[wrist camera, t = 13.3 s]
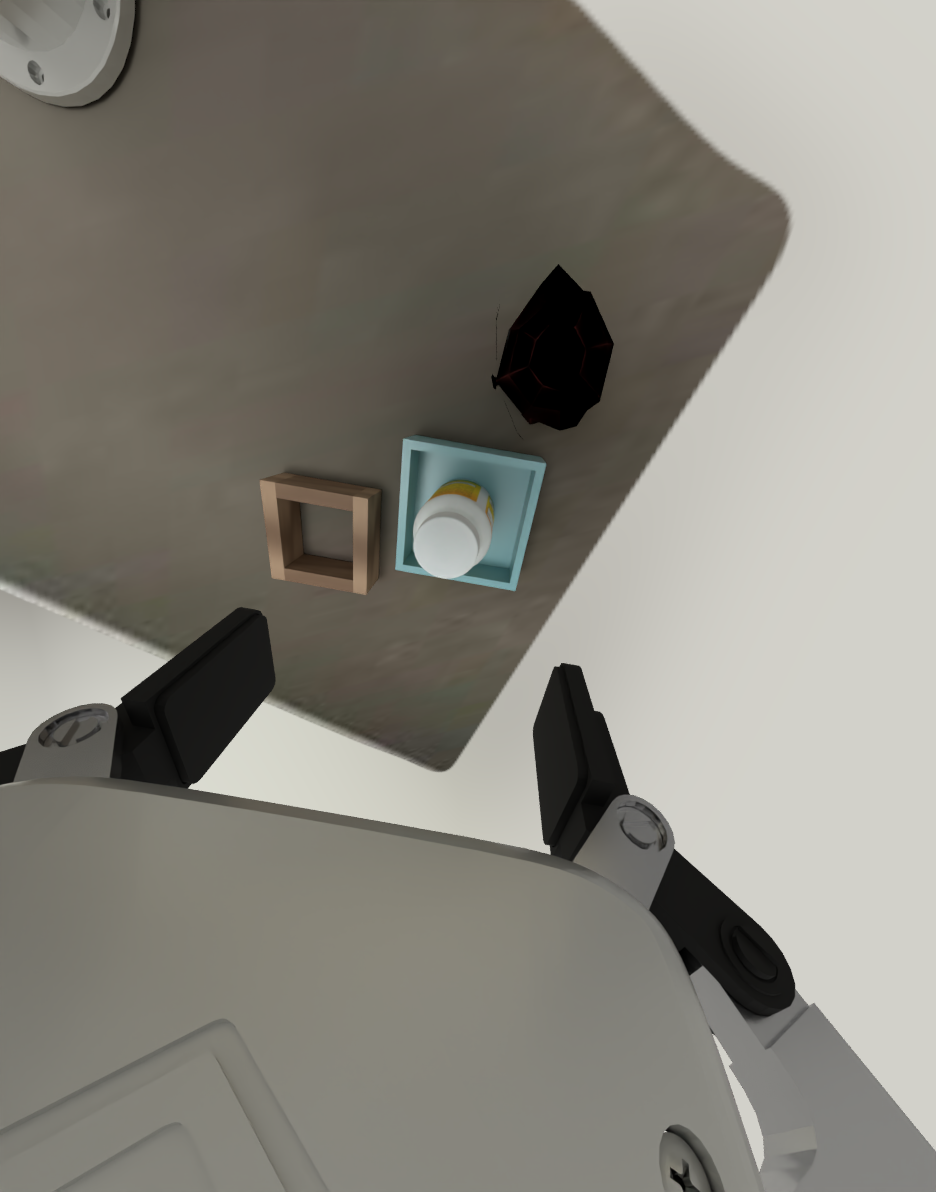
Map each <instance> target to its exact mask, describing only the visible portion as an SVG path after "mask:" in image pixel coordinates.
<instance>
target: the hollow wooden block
mask: <svg viewBox="0 0 936 1192" xmlns="http://www.w3.org/2000/svg"><path fill="white" fill-rule="evenodd" d="M260 487H261V495H262V503H263V511H264V519H265V527H266V535H267V543H268V551H269V559H270V566H271V574H272V578H275V579H280V580H286V581H292V582H297V583H303V584H308V585H314V586H320V587H325V588H331V589H337V590H342V591H348V592H354V593H359V594H365V595H367V593H368V592H369V591H370V589H371V588H372V586H373V585H374V584H375V582H376V581H377V580H378V578H379V549H380V521H381V492H382V490H380V489H374V488H369V487H363V486H357V485H352V484H346V483H340V482H335V481H329V480H323V479H318V478H312V477H306V476H300V475H295V474H289V473H281V474H278V475H274V476H271V477H267V478H264V479H261V480H260ZM300 502H303V503H309V504H314V505H320V506H326V507H331V508H337V509H343V510H348V511H353V562H347V561H341V560H336V559H330V558H324V557H319V556H313V555H307V554H304V553H303V540H302V527H301V513H300Z"/></svg>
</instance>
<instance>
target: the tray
mask: <svg viewBox="0 0 936 1192" xmlns="http://www.w3.org/2000/svg"><path fill="white" fill-rule="evenodd" d="M545 468H546V462H545V461H544V460H543V459H542V457H539V456H534V455H528V454H522V453H516V452H511V451H505V450H499V449H493V448H488V447H482V446H476V445H471V444H465V443H459V442H453V441H448V440H442V439H436V438H431V437H425V436H419V435H414V436H410V437H407V438H404V439H403V451H402V468H401V484H400V501H399V518H398V535H397V552H396V568H395V570H399V571H405V572H411V573H416V574H422V575H428V576H433V575H431V574H429V573H428V572H427V571H425V570H424V569H423V568H422V567H421V566H420V564H419V563H418V561H417V559H416V557H415V554H414V549H413V543H414V537H413V526H414V522H415V518H416V516H417V514H418V512H419V511H420V509H421V508H422V507H423V506H424V504H425V503H426V502H427V501H428V500H429V499H430V498H431V496H432V495H433V494H434V493H435V492H436V491H437V490H438V489H439V488H440V487H441V486H442V485H443V484H445V483H446V482H449V481H451V480H455V479H467V480H472V481H475V482H477V483H478V484H480V485H481V486H483V487H484V488H485V489H486V490H487V492H488V493H489V494H490V496H491V498H492V501H493V504H494V523H493V531H492V538H491V543H490V546H489V549H488V551H487V553H486V555H485V556H484V558H483V559H482V560H481V561H480V562H479V563H478V564H476V565H475V566H473V567H472V568H471V569H470V570H469V571H468V572H467V573H465V574H463V575H462V576H459V577H456V578H451V579H450V580H456V581H462V582H467V583H473V584H479V585H484V586H490V587H496V588H501V589H507V590H513V591H515V590H516V586H517V582H518V578H519V574H520V570H521V566H522V561H523V557H524V553H525V549H526V545H527V541H528V537H529V533H530V529H531V525H532V521H533V517H534V513H535V509H536V504H537V500H538V496H539V492H540V488H541V484H542V480H543V476H544V472H545ZM433 577H435V576H433Z"/></svg>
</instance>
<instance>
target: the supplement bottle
mask: <svg viewBox="0 0 936 1192" xmlns="http://www.w3.org/2000/svg"><path fill="white" fill-rule="evenodd" d="M493 523H494V504H493V501H492V498H491V496H490V494H489V493H488V492H487V490H486V489H485V488H484V487H483V486H481V485H480V484H478V483H477V482H475V481H472V480H467V479H455V480H451V481H449V482H446V483H445V484H443V485H442V486H441V487H440V488H439V489H438V490H437V491H436V492H435V493H434V494H433V495H432V496H431V498H430V499H429V500H428V501H427V502H426V503H425V504H424V506H423V507H422V508H421V509H420V511H419V512H418V514H417V516H416V518H415V522H414V526H413V537H414V543H413V549H414V554H415V557H416V559H417V561H418V563H419V564H420V566H421V567H422V568H423V569H424V570H425V571H427V572H428V573H429V574H431V575H433V576H435V577H439V578H444V579H451V578H456V577H459V576H462V575H463V574H465V573H467V572H468V571H469V570H470V569H471V568H472V567H473V566H475V565H476V564H478V563H479V562H480V561H481V560H482V559H483V558H484V556H485V555H486V553H487V551H488V549H489V546H490V543H491V538H492V531H493Z"/></svg>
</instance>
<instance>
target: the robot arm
mask: <svg viewBox="0 0 936 1192" xmlns="http://www.w3.org/2000/svg"><path fill="white" fill-rule="evenodd" d="M134 16H135V0H0V77H2V78H3V79H5V80H6V81H8V82H9V83H11V84H12V85H14V86H15V87H17V88H18V89H20V90H21V91H23V92H25V93H27V94H29V95H31V96H33V97H35V98H37V99H39V100H41V101H43V102H46V103H50V104H54V105H58V106H62V107H70V106H83V105H85V104H88V103H90V102H92V101H95V100H97V99H99V98H100V97H101V96H102V95H103V94H104V93H105V92H106V91H108V90H109V89H110V88H111V87H112V86H113V84H114V82H115V81H116V79H117V77H118V76H119V74H120V72H121V70H122V69H123V67H124V63H125V60H126V57H127V54H128V51H129V48H130V45H131V39H132V31H133V24H134ZM274 685H275V672H274V665H273V658H272V651H271V645H270V638H269V631H268V624H267V619H266V617H265V616H263V615H262V613H261V611H259V610H254V609H248V608H243V607H240V608H237V609H236V610H234V611H233V612H232V613H231V614H229V615H228V616H227V617H225V618H224V619H223V620H222V621H220V622H219V623H218V624H216V625H215V626H214V627H212V628H211V629H210V630H209V631H207V632H206V633H205V634H203V635H202V636H201V637H199V638H198V639H197V640H196V641H194V642H193V643H192V644H190V645H189V646H188V647H187V648H185V649H184V650H183V651H181V652H180V653H179V654H177V655H176V656H175V657H174V658H172V659H171V660H170V661H168V662H167V663H166V664H165V665H163V666H162V667H161V668H160V669H158V670H157V671H156V672H154V673H153V674H152V675H150V676H149V677H148V678H146V679H145V680H144V681H142V682H141V683H140V684H139V685H137V686H136V687H135V688H133V689H132V690H131V691H130V692H128V693H127V694H126V695H125V696H123V697H122V698H121V700H122V703H121V704H120V705H119V706H118V707H116V708H114V707H112V706H111V705H107V704H102V703H101V704H87V705H81V706H77V707H74V708H71V709H68V710H65V711H63V712H61V713H59V714H57V715H55V716H53V717H51V718H49V719H48V720H46V721H45V722H43V723H42V724H41V725H40V726H39V727H37V728H36V729H35V730H34V731H33V732H32V734H31V736H30V737H29V739H28V741H27V744H24V745H21V746H18V747H15V748H12V749H8V750H5V751H2V752H0V1192H936V1151H935V1150H934V1149H933V1148H932V1146H931V1145H930V1144H929V1143H928V1141H927V1140H926V1139H925V1138H924V1137H923V1135H922V1134H921V1133H920V1132H919V1130H918V1129H917V1128H916V1127H915V1126H914V1125H913V1123H912V1122H911V1121H910V1120H909V1118H908V1117H907V1116H906V1115H905V1113H904V1112H903V1111H902V1110H901V1109H900V1107H899V1106H898V1105H897V1104H896V1103H895V1101H894V1100H893V1099H892V1098H891V1096H890V1095H889V1094H888V1093H887V1092H886V1090H885V1089H884V1088H883V1087H882V1085H881V1084H880V1083H879V1082H878V1080H877V1079H876V1078H875V1077H874V1076H873V1075H872V1073H871V1072H870V1071H869V1069H868V1068H867V1067H866V1066H865V1065H864V1063H863V1062H862V1061H861V1060H860V1058H859V1057H858V1056H857V1055H856V1054H855V1052H854V1051H853V1050H852V1049H851V1047H850V1046H849V1045H848V1044H847V1043H846V1041H845V1040H844V1039H843V1038H842V1036H841V1035H840V1034H839V1033H838V1032H837V1030H836V1029H835V1028H834V1027H833V1025H832V1024H831V1023H830V1022H829V1021H828V1019H826V1017H825V1016H824V1014H823V1013H822V1012H821V1011H820V1010H819V1008H818V1007H817V1006H816V1005H815V1004H814V1003H813V1004H811V1005H809V1006H808V1004H807V1003H806V1002H805V1001H804V999H803V998H802V997H801V996H800V995H799V993H798V992H797V991H796V989H795V982H794V979H793V975H792V972H791V969H790V967H789V965H788V963H787V961H786V959H785V957H784V955H783V953H782V952H781V950H780V949H779V948H778V946H777V945H776V943H775V942H774V941H773V939H772V938H771V937H770V936H769V935H768V934H767V933H766V932H765V931H764V929H763V928H762V927H761V926H760V925H759V924H757V923H756V922H755V921H754V920H753V919H752V918H751V917H750V916H749V915H747V914H746V913H745V912H744V911H743V910H742V909H741V908H740V907H739V906H737V905H736V904H735V903H734V902H733V901H732V900H731V899H730V898H729V897H727V896H726V895H725V894H724V893H723V892H722V891H721V890H719V889H718V888H717V887H716V886H715V885H714V884H713V883H712V882H711V881H710V880H708V879H707V878H706V877H705V876H704V875H703V874H702V873H701V872H699V871H698V870H697V869H696V868H695V867H694V866H693V865H692V864H690V863H689V862H688V861H687V860H686V859H685V858H684V857H683V856H682V855H681V854H680V853H678V852H677V851H676V850H675V849H674V844H675V841H674V836H673V832H672V830H671V828H670V826H669V823H668V822H667V821H666V819H665V818H664V816H663V815H662V814H661V812H660V811H658V810H657V809H656V808H655V807H654V806H653V805H652V804H650V803H649V802H647V801H646V800H644V799H642V798H640V797H636V796H634V795H630V794H629V791H628V788H627V785H626V782H625V779H624V776H623V773H622V770H621V767H620V764H619V761H618V758H617V755H616V752H615V749H614V746H613V743H612V740H611V737H610V734H609V731H608V728H607V724H606V722H605V718H604V716H603V714H602V713H600V712H598V711H594V708H593V705H592V702H591V699H590V695H589V692H588V689H587V686H586V682H585V679H584V676H583V672H582V669H581V667H580V666H577V665H571V664H565V663H561V665H560V667H554V669H553V671H552V674H551V677H550V680H549V683H548V686H547V688H546V691H545V694H544V697H543V700H542V703H541V706H540V709H539V712H538V715H537V717H536V720H535V723H534V727H533V739H534V751H535V760H536V771H537V781H538V791H539V802H540V812H541V821H542V832H543V841H544V843H545V845H550V851H551V855H549V854H545V853H541V852H537V851H533V850H529V849H525V848H520V847H515V846H510V845H505V844H500V843H495V842H490V841H485V840H480V839H475V838H469V837H464V836H458V835H453V834H447V833H442V832H436V831H430V830H425V829H419V828H414V827H408V826H402V825H397V824H391V823H385V822H380V821H374V820H368V819H363V818H357V817H351V816H345V815H339V814H334V813H328V812H322V811H316V810H310V809H305V808H299V807H293V806H287V805H282V804H275V803H270V802H264V801H258V800H252V799H246V798H240V797H234V796H228V795H222V794H216V793H210V792H204V791H198V790H192V789H188V787H189V786H190V785H191V784H194V783H197V782H198V781H199V780H200V779H201V778H202V777H203V775H204V774H205V773H206V772H207V770H208V769H209V768H210V767H211V765H212V764H213V763H214V762H215V761H216V759H217V758H218V757H219V756H220V754H221V753H222V752H223V751H224V749H225V748H226V747H227V746H228V744H229V743H230V742H231V741H232V739H233V738H234V737H235V736H236V734H237V733H238V732H239V731H240V729H241V728H242V727H243V725H244V724H245V723H246V722H247V721H248V719H249V718H250V717H251V716H252V714H253V713H254V712H255V711H256V709H257V708H258V707H259V706H260V704H261V703H262V702H263V701H264V699H265V698H266V697H267V696H268V694H269V693H270V692H271V691H272V689H273V687H274ZM712 1034H714V1035H715V1036H716V1037H717V1039H718V1040H719V1042H720V1043H721V1045H722V1047H723V1048H724V1050H725V1051H726V1053H727V1054H728V1056H729V1057H730V1059H731V1061H732V1062H733V1063H732V1064H731V1065H730V1066H729V1067H730V1068H731V1070H732V1072H733V1073H734V1075H735V1076H736V1078H737V1080H738V1081H739V1083H740V1084H741V1086H742V1088H743V1089H744V1091H745V1093H746V1095H747V1097H748V1098H749V1101H750V1103H751V1105H752V1106H753V1108H754V1110H755V1112H756V1115H757V1118H758V1122H759V1125H760V1128H761V1131H762V1135H763V1141H764V1161H763V1164H762V1166H761V1169H760V1172H759V1171H758V1168H757V1165H756V1162H755V1159H754V1156H753V1153H752V1150H751V1147H750V1144H749V1141H748V1138H747V1135H746V1132H745V1129H744V1126H743V1123H742V1120H741V1117H740V1114H739V1111H738V1108H737V1105H736V1102H735V1099H734V1095H733V1092H732V1090H731V1087H730V1083H729V1081H728V1077H727V1074H726V1072H725V1069H724V1066H723V1063H722V1060H721V1057H720V1054H719V1052H718V1049H717V1046H716V1044H715V1041H714V1038H713V1035H712ZM664 1131H667V1132H665V1133H663V1132H664Z"/></svg>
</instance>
